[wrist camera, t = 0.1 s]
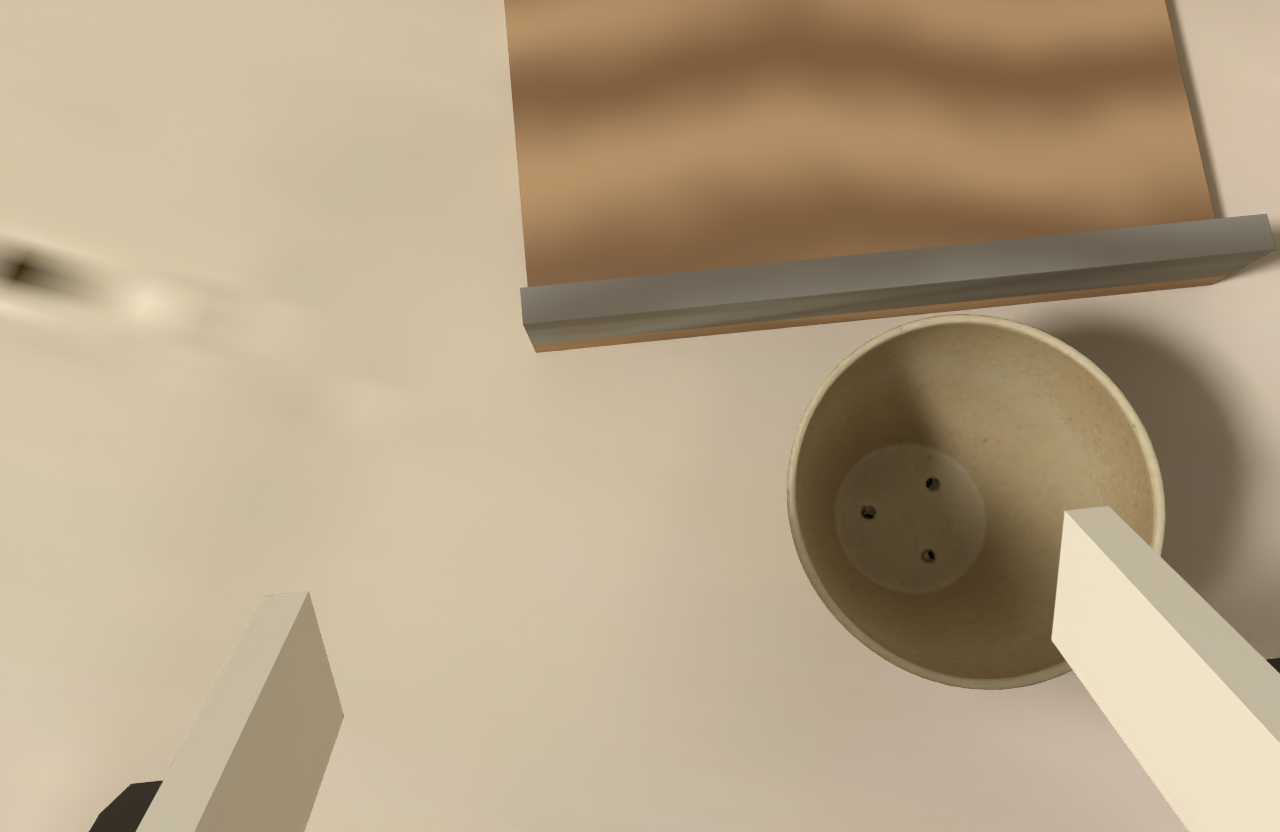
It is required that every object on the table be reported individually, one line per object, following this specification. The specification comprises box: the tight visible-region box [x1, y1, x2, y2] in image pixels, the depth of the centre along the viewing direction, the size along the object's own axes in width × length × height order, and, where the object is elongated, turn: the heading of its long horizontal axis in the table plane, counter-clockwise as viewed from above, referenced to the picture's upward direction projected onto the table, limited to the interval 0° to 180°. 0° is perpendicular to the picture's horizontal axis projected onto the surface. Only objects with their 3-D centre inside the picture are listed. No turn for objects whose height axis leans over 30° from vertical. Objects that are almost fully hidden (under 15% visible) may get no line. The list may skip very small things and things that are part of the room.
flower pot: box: [787, 314, 1166, 690], centre depth 29 cm, size 10×10×7 cm
